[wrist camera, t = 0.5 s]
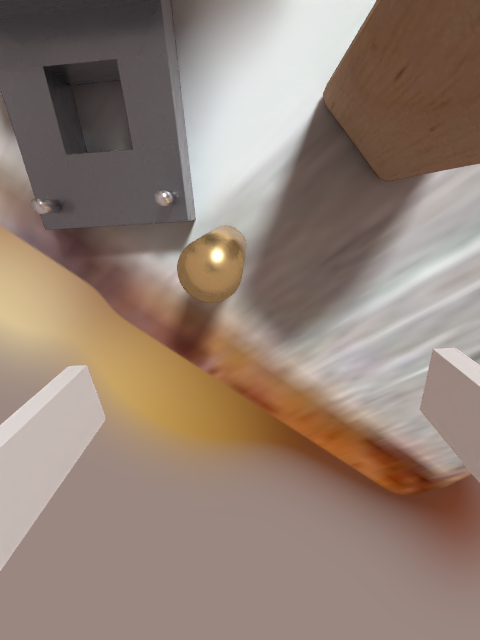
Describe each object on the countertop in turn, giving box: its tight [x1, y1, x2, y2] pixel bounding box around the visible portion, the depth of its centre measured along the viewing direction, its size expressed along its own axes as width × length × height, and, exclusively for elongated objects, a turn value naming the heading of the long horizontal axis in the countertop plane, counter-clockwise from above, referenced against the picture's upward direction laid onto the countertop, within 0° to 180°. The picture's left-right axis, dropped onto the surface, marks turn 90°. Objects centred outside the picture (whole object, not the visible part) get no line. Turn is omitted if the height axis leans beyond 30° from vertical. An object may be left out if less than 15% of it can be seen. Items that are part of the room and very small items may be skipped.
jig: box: [0, 0, 196, 230], centre depth 22 cm, size 18×14×7 cm
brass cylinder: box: [177, 226, 247, 303], centre depth 24 cm, size 4×4×12 cm
